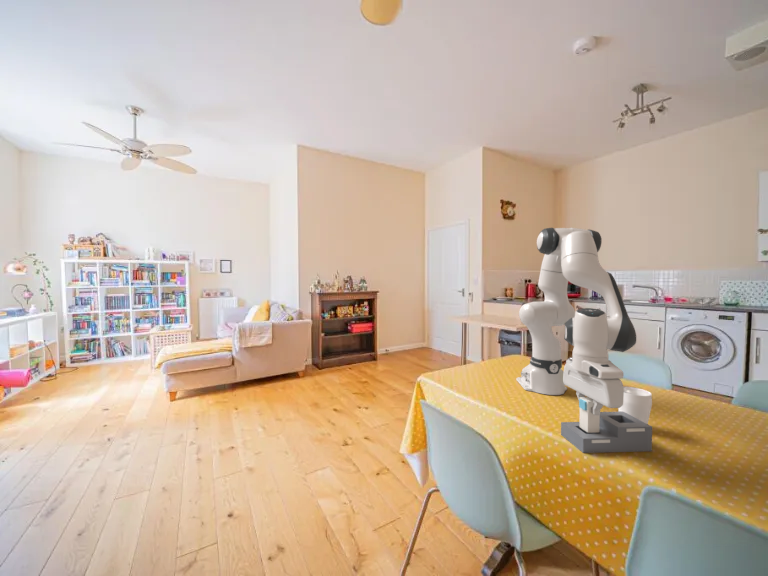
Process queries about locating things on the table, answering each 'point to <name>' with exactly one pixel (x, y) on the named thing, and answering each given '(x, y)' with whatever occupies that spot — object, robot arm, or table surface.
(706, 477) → the table surface
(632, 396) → the cup
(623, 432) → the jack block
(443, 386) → the table surface
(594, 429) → the plug
